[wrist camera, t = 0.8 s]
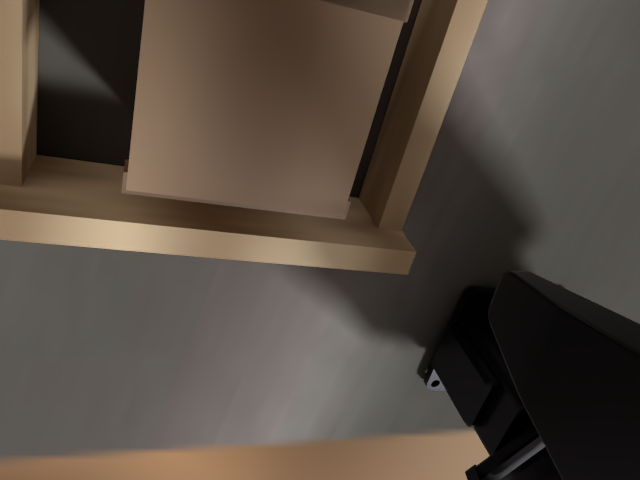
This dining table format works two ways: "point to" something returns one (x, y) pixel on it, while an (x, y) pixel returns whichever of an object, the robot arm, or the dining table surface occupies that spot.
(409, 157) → the bay
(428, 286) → the dining table surface
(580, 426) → the robot arm
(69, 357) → the dining table surface
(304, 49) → the crate
